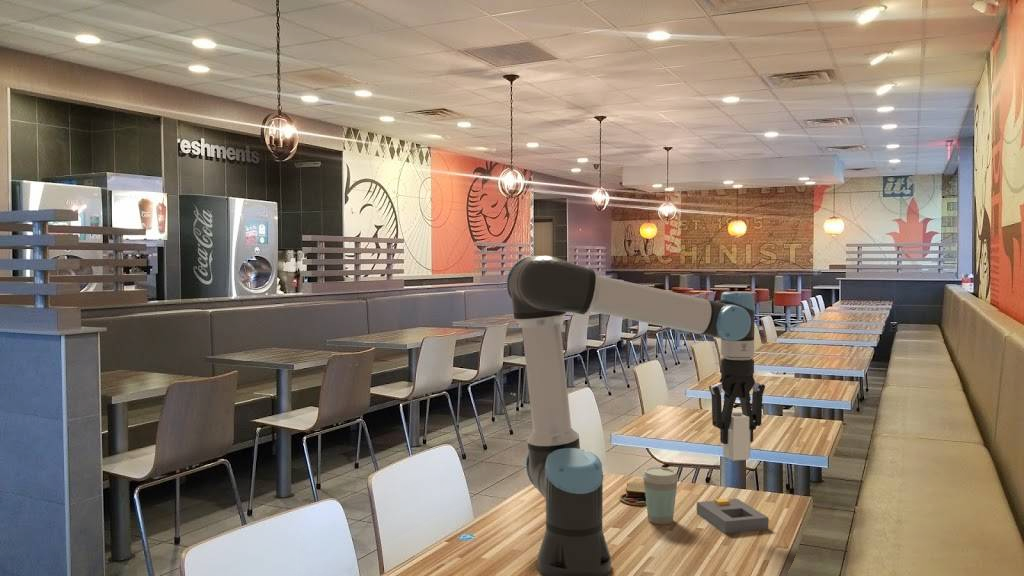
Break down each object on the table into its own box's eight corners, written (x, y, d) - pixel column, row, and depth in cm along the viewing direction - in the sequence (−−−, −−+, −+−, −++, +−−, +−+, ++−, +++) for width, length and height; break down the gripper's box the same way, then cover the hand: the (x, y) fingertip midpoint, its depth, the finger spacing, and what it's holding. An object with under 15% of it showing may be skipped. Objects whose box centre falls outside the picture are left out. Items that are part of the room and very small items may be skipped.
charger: (733, 460, 172) (733, 415, 172) (724, 456, 176) (724, 411, 176) (748, 459, 173) (749, 414, 173) (739, 455, 177) (740, 411, 177)
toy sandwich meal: (616, 505, 191) (616, 491, 191) (624, 493, 201) (624, 480, 201) (652, 509, 188) (652, 495, 188) (659, 497, 197) (659, 483, 197)
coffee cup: (678, 527, 174) (679, 477, 173) (641, 525, 176) (641, 475, 175) (678, 515, 182) (678, 467, 182) (642, 513, 184) (642, 465, 183)
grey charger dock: (725, 534, 169) (725, 518, 169) (696, 514, 183) (696, 498, 183) (768, 530, 172) (768, 514, 172) (737, 510, 186) (737, 495, 185)
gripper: (711, 360, 168) (711, 463, 169) (779, 358, 172) (778, 458, 173) (696, 356, 176) (695, 454, 176) (761, 354, 179) (760, 450, 180)
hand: (736, 456), depth 175 cm, fingers closed on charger, 4 cm apart
